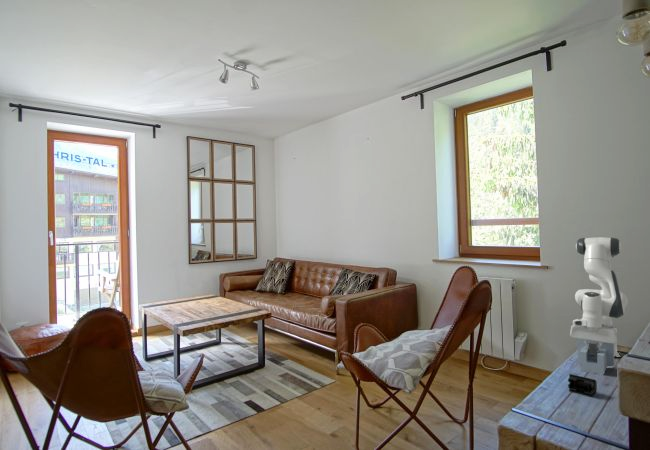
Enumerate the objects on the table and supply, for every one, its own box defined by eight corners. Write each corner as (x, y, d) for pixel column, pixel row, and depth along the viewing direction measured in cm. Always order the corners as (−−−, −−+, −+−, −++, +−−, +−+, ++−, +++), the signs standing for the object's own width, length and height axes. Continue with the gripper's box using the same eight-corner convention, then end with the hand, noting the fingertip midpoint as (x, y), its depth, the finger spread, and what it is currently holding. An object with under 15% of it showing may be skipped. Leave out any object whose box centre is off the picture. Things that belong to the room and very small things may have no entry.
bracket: (590, 352, 197) (590, 340, 197) (597, 353, 195) (597, 342, 195) (589, 354, 193) (588, 343, 193) (596, 355, 191) (595, 344, 191)
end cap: (597, 393, 164) (596, 378, 164) (593, 398, 159) (593, 382, 159) (571, 386, 171) (570, 372, 172) (567, 391, 166) (566, 376, 167)
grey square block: (578, 361, 207) (578, 337, 207) (614, 368, 196) (613, 342, 196) (573, 369, 195) (573, 342, 195) (611, 376, 184) (610, 349, 184)
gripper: (617, 325, 190) (618, 351, 189) (571, 319, 204) (571, 343, 203) (616, 327, 185) (617, 354, 185) (569, 320, 199) (569, 346, 199)
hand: (593, 348), depth 194 cm, fingers closed on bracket, 3 cm apart
